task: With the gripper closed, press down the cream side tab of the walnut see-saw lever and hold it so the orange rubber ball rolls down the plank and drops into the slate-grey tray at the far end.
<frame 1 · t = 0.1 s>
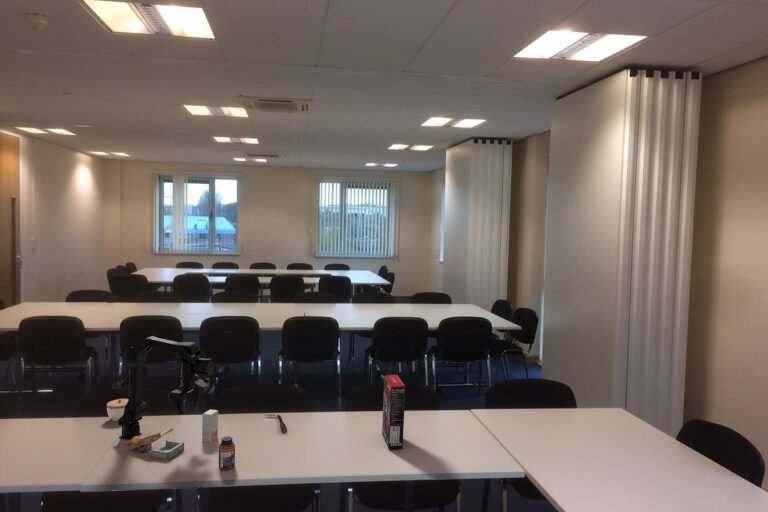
hand: (188, 410, 214), 15 cm above the table, fingers open, 9 cm apart
ball: (135, 440, 209), point 4 cm above the table, touching lever
graphics card box: (392, 442, 223), on the table
lidded jar: (119, 419, 241), on the table
fulcrum: (145, 450, 208), on the table
lever: (150, 436, 212), point 4 cm above the table, hinge at -22.0°, touching ball
skincare box: (210, 439, 220), on the table
supplement bottle: (226, 467, 195), on the table
tray: (167, 453, 206), on the table
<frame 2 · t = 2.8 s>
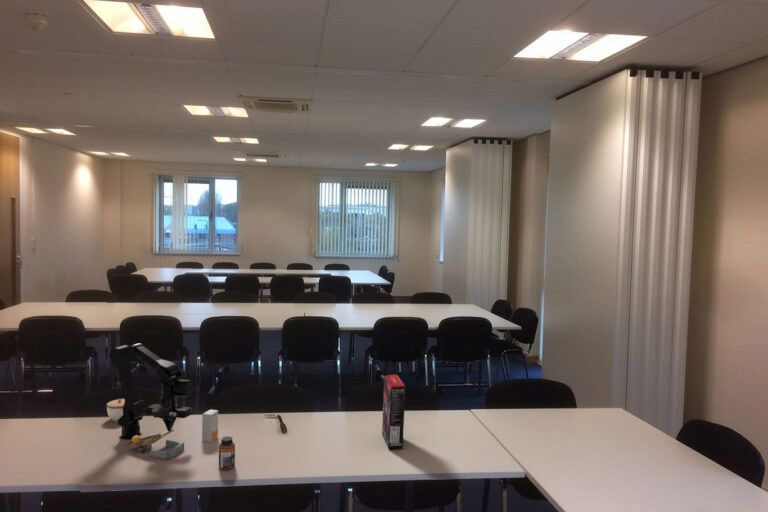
hand: (169, 431, 215), 5 cm above the table, fingers closed, pressing on lever
lever: (151, 436, 212), point 4 cm above the table, hinge at -17.7°, touching ball, gripper
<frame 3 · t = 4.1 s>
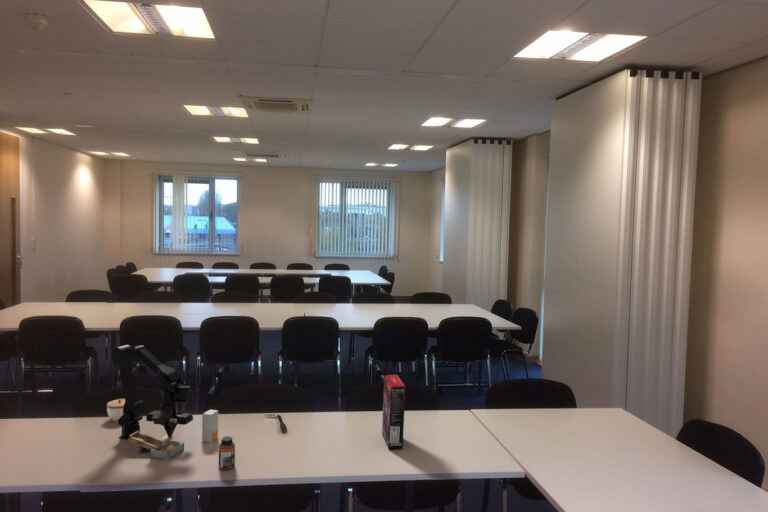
hand: (170, 437, 215), 2 cm above the table, fingers closed, pressing on lever
ball: (170, 449, 205), point 2 cm above the table, tilted 107°, touching tray
lever: (151, 436, 212), point 4 cm above the table, hinge at 13.1°, touching gripper
everything else where it was.
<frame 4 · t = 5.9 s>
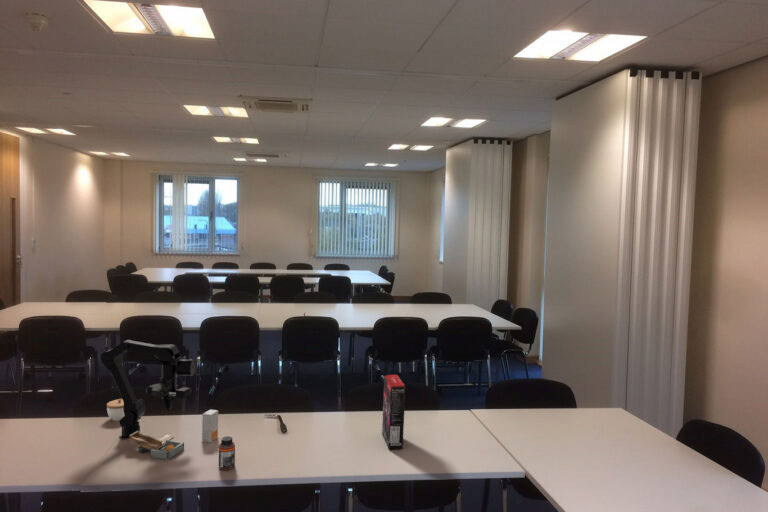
hand: (168, 410, 220), 12 cm above the table, fingers closed
ball: (170, 448, 205), point 2 cm above the table, tilted 119°, touching tray
lever: (151, 436, 212), point 4 cm above the table, hinge at 13.4°
everything else where it was.
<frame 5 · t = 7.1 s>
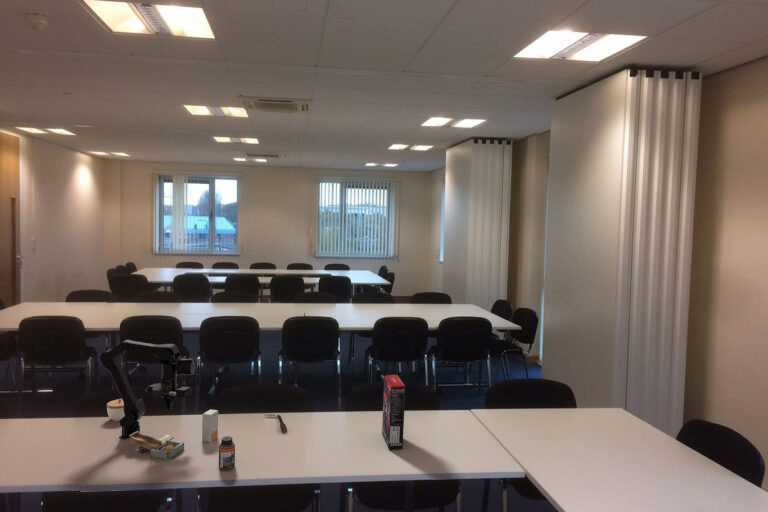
hand: (169, 409, 221), 12 cm above the table, fingers closed
ball: (169, 448, 205), point 2 cm above the table, tilted 126°, touching tray
everything else where it was.
at the end: ball inside the target area on the tray (0.9 cm from its centre), point 2.0 cm above the tray's base; ball touching tray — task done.
